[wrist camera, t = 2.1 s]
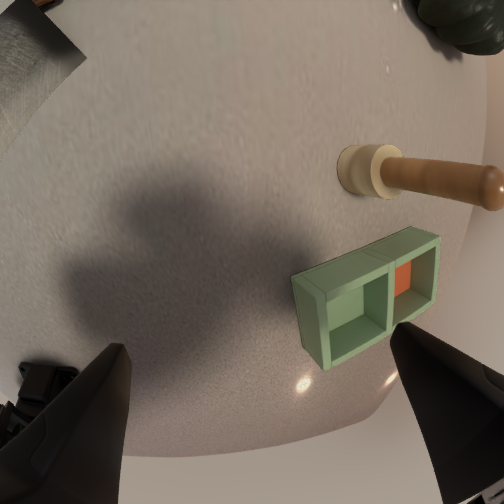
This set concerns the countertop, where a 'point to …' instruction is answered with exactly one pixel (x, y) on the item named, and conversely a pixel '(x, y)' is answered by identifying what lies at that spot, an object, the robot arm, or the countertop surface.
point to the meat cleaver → (30, 65)
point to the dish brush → (418, 176)
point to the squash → (466, 23)
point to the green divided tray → (365, 294)
